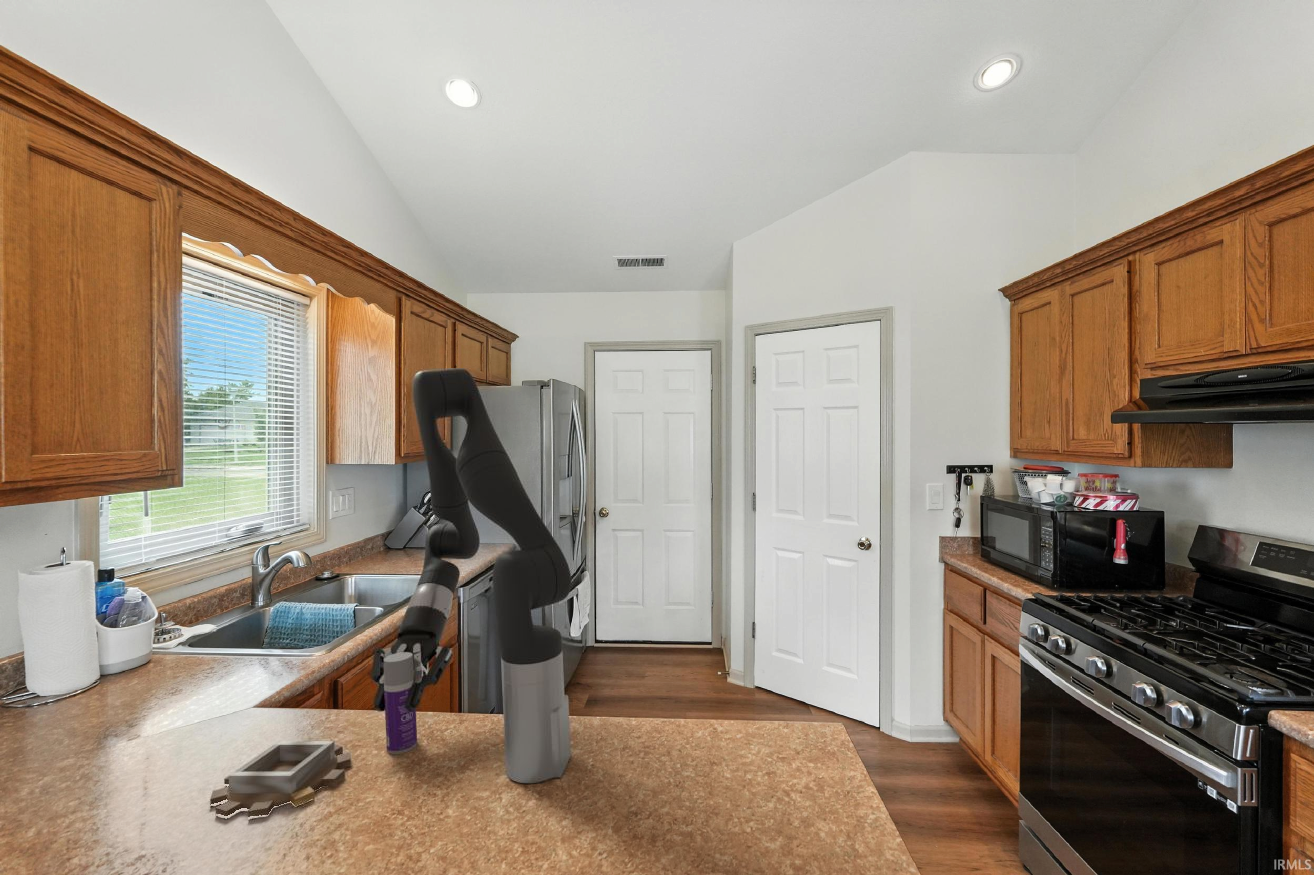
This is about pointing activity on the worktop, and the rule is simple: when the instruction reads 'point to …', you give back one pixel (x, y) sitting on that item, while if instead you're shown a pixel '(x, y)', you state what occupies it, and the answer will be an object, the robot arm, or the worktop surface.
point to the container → (399, 703)
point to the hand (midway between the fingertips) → (394, 709)
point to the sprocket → (282, 777)
